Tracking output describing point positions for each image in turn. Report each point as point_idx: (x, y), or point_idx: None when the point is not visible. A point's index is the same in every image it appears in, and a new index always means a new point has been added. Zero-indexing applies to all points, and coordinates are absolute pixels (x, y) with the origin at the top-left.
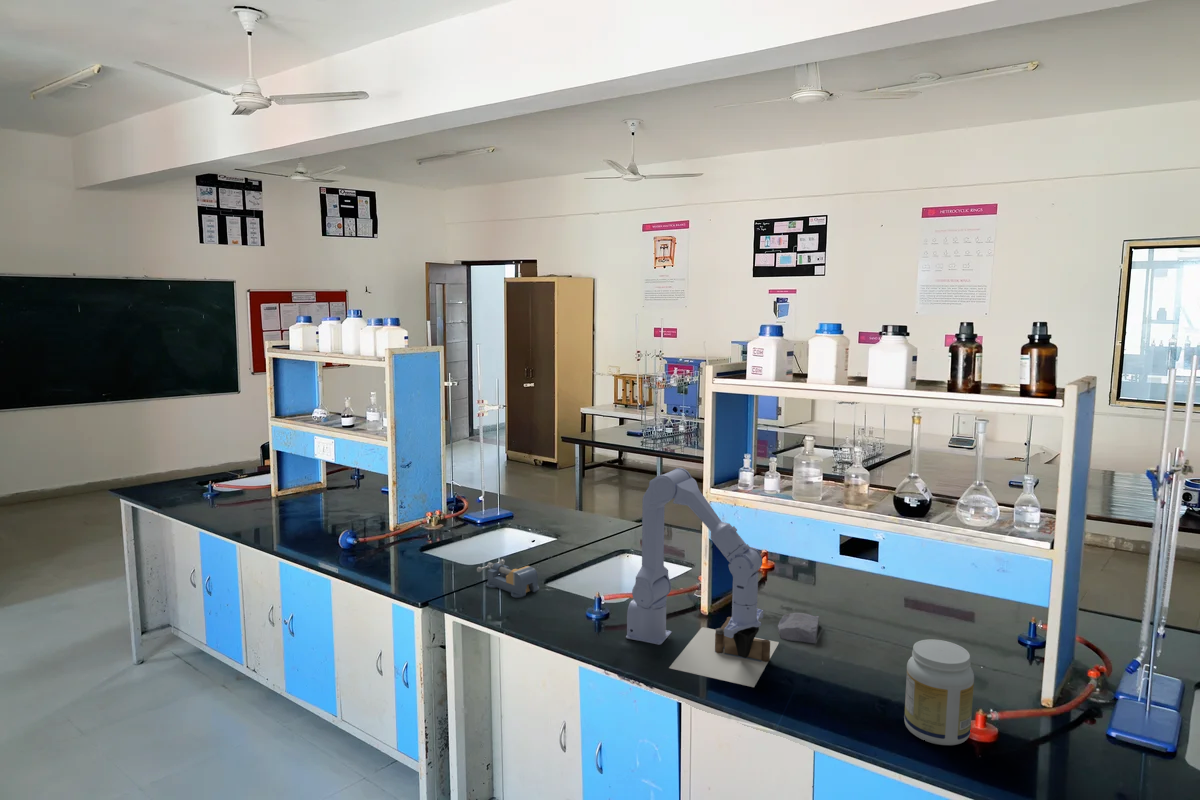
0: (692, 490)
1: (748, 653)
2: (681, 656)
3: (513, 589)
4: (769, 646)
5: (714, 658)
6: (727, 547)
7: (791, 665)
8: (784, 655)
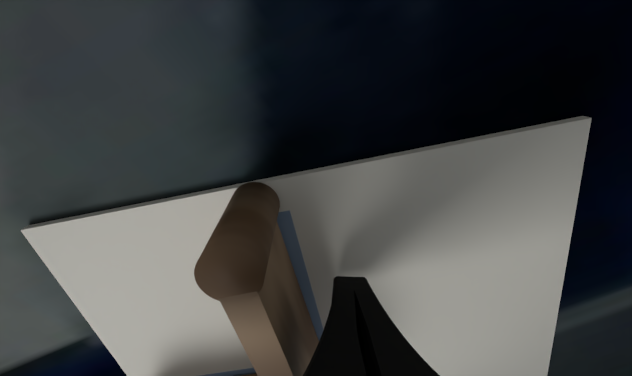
0: None
1: (348, 287)
2: None
3: None
4: (237, 231)
5: None
6: None
7: (186, 57)
8: (112, 148)
